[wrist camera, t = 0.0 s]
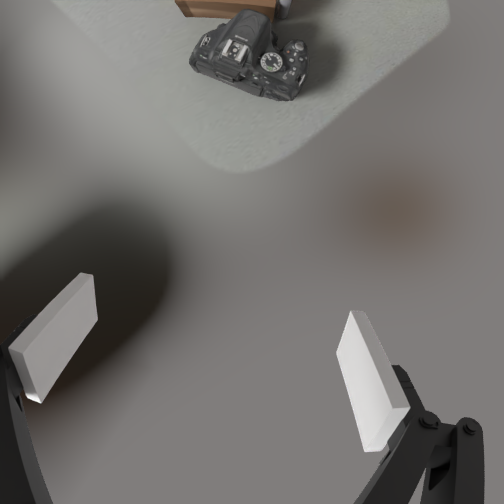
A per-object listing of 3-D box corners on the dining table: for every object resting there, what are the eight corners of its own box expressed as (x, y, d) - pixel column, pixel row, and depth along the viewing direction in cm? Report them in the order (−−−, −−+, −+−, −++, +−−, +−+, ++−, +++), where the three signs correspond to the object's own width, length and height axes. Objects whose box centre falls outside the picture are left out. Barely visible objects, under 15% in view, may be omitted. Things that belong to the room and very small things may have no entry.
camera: (304, 33, 34) (318, 7, 24) (301, 105, 37) (315, 98, 28) (198, 30, 33) (182, 4, 24) (194, 101, 37) (175, 94, 28)
